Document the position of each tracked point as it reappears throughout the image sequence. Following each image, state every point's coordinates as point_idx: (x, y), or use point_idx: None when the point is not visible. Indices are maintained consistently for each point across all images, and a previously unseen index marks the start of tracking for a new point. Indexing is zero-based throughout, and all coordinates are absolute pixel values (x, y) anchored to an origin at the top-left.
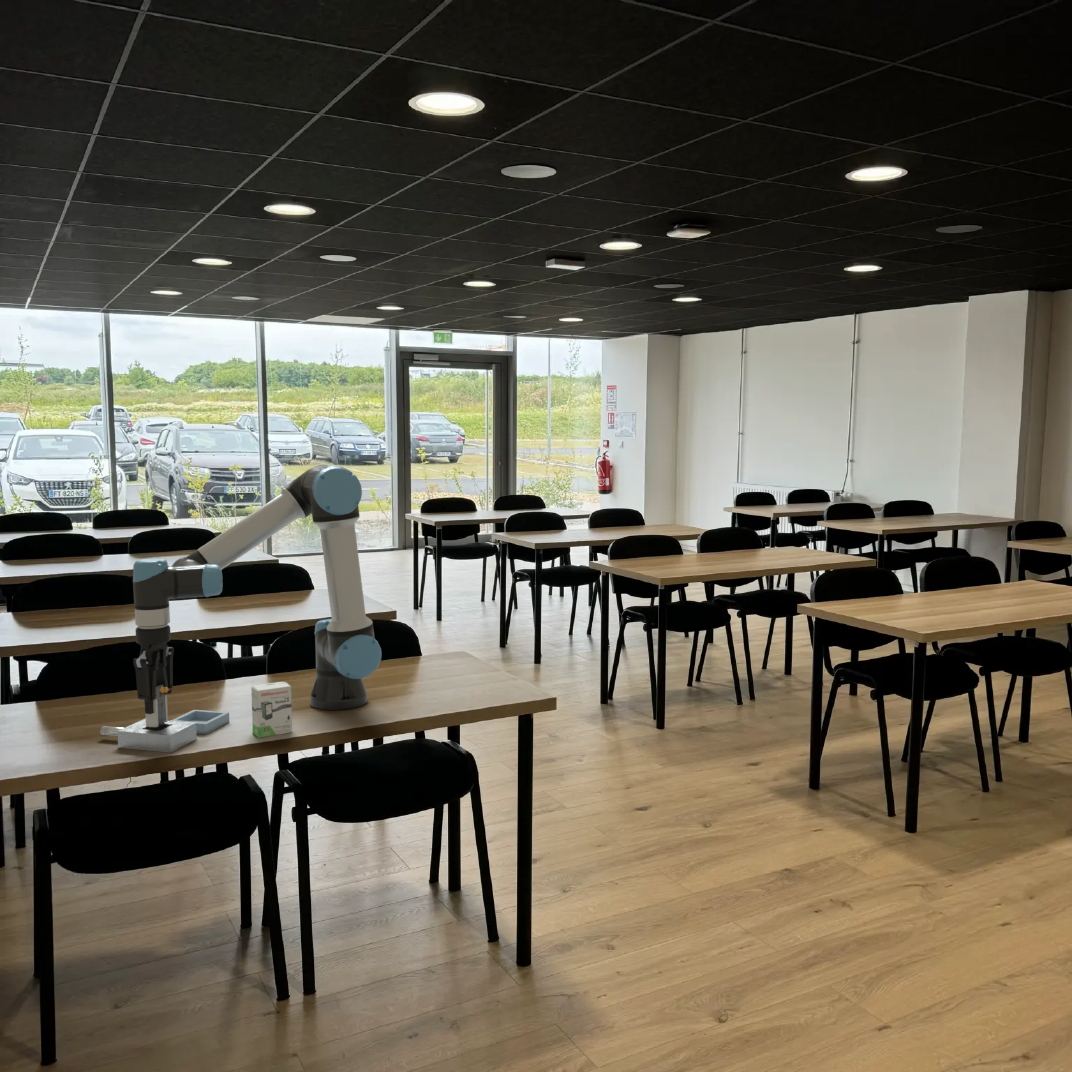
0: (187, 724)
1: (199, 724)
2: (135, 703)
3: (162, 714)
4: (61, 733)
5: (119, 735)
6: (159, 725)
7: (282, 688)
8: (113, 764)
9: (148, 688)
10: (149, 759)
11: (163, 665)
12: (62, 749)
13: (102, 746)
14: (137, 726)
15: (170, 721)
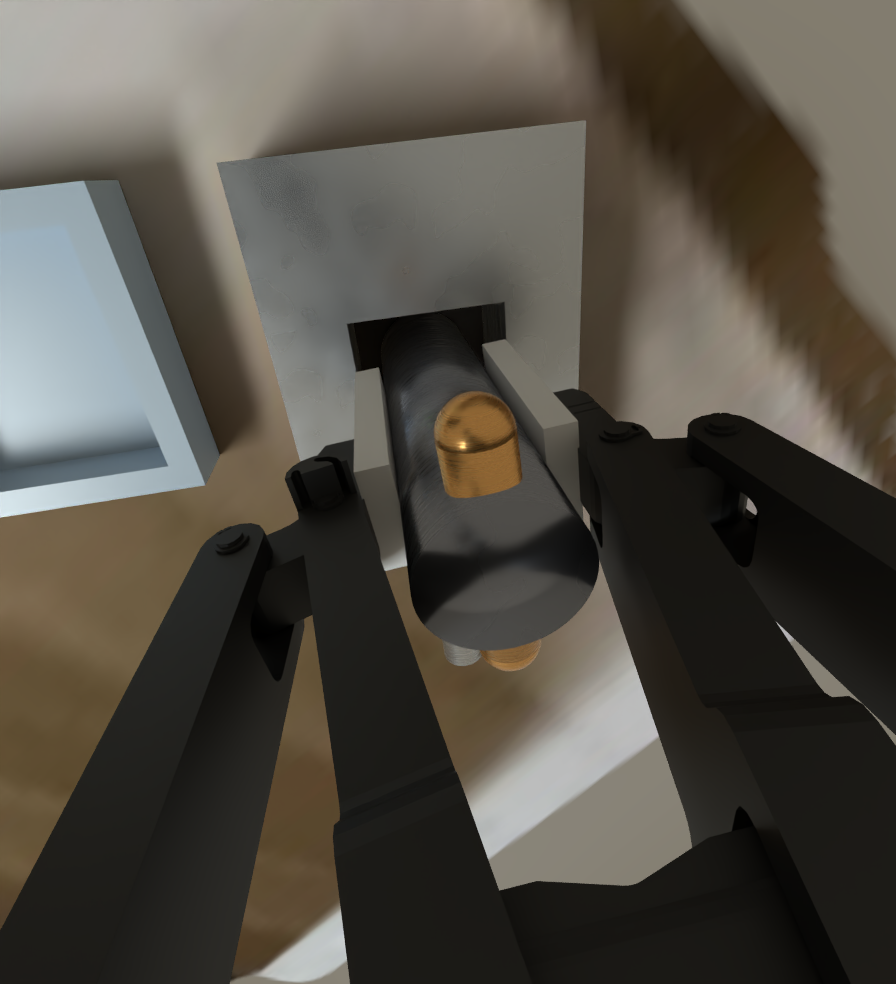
0: (291, 207)
1: (114, 250)
2: (42, 837)
3: (448, 369)
4: (462, 758)
5: None
6: (465, 350)
7: None
8: (769, 315)
9: (795, 478)
10: (679, 176)
11: (469, 814)
12: (612, 639)
13: None
14: None
15: (301, 395)
